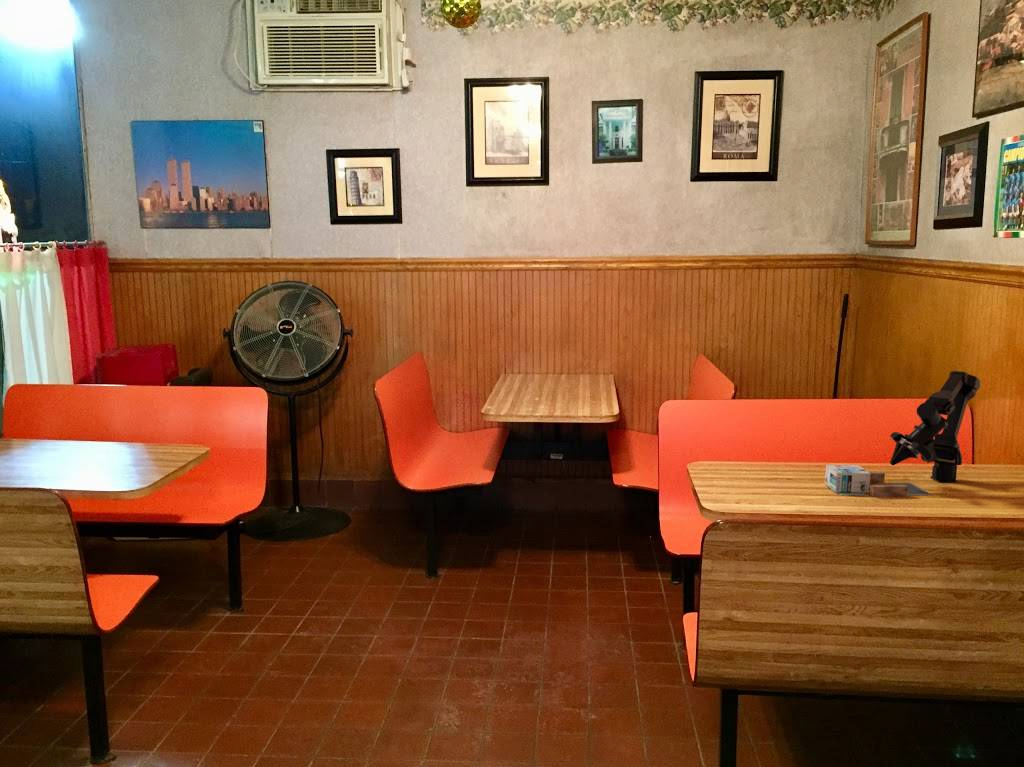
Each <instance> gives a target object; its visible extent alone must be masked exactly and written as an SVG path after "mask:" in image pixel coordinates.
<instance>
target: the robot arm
mask: <svg viewBox="0 0 1024 767" xmlns="http://www.w3.org/2000/svg"><path fill="white" fill-rule="evenodd" d="M980 386H981V380H980V378H978V377H977V376H975V375H972V374H969V373H968V372H965V371H960V370H953V371H949V376H948V378H947V379H946V381H945V382H944V384H943V385H942V386H941V388H940V390H938V391H936V392H933V393H931V395H929V397H928V398H927V399H926V400H925V401H924V402H922V403H920V404H919V405H918V407H917V408H916V414H917V416H918V418H919V419H920V421H921V423H920V424H919V425H916V424H915V425H914V426H913V430H912V431H911V432H910V433H909V434H907V433H906V434H903V433H901V432H898V431H893V432H892V433H891V434H890V435H889V437H890V438H891V439H892V440H893V441H894V442H895V443H896V444H895V446H894V450H893V453H892V455H891V459H890V461H889V464H890V465H891V466H895V465H898V464H899V463H901V462H903V461H905V460H908V459H910V458H912V459H919V457H918V456H919V455H920V458H921V460H922V461H923V462H926V463H927V464H930V463H933V462H934V463H933V465H932V468H931V469H932V470H931V475H930V479H932V480H934V481H936V482H938V483H945V484H946V483H949V484H950V483H959V482H960V481H959V480H957V473H958V472H957V470H958V467H959V466H962V465H963V455H962V452H961V448H960V447H961V446H960V444H959V442H958V435H959V433H960V429H961V425H962V422H963V418H964V415H965V412H966V408H967V405H968V403H969V401H971V400H972V399H973V398H975V396H976V394H977V393H978V392H977V391H979V390H980ZM944 416H946V418H944ZM940 432H941V433H940Z"/></svg>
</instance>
